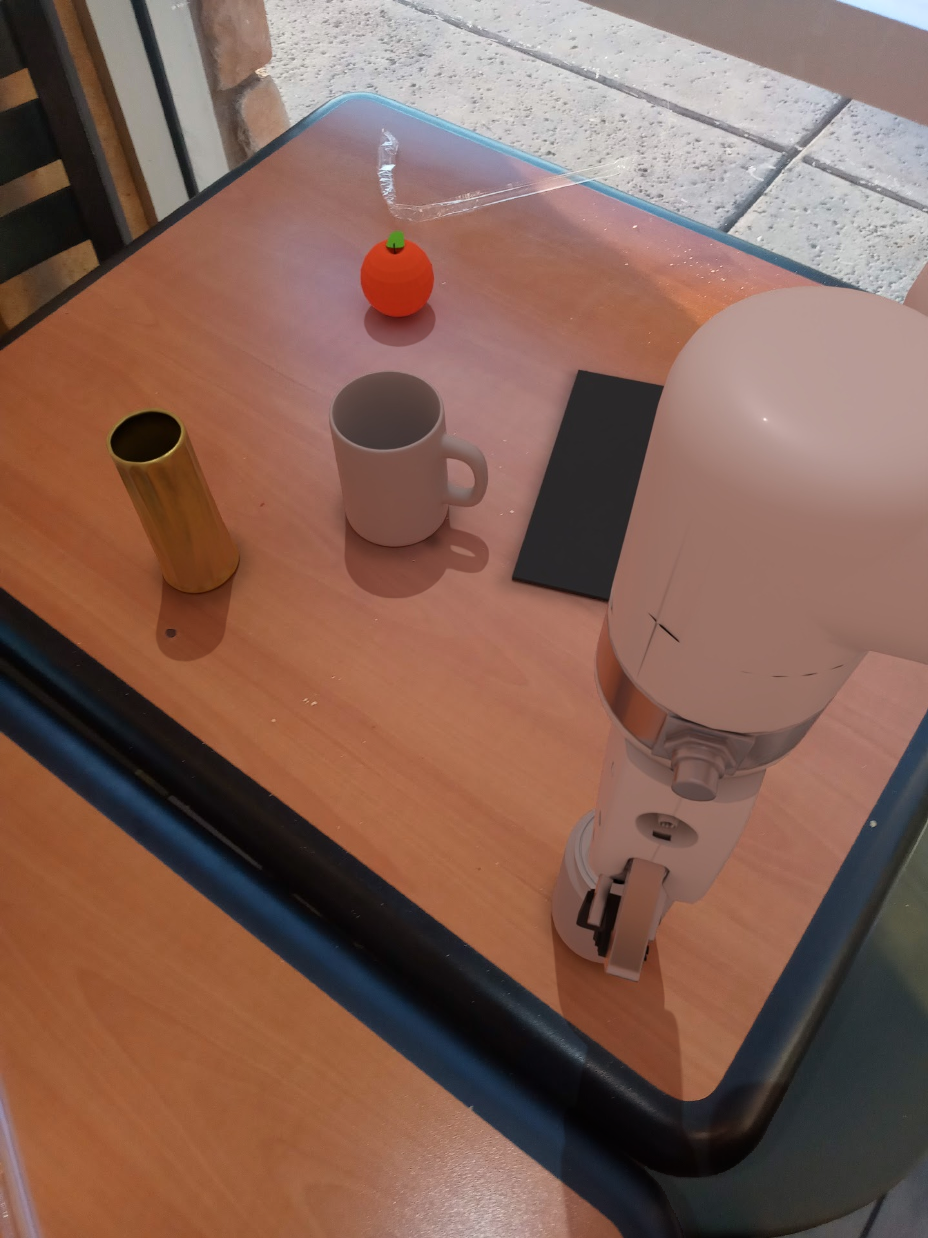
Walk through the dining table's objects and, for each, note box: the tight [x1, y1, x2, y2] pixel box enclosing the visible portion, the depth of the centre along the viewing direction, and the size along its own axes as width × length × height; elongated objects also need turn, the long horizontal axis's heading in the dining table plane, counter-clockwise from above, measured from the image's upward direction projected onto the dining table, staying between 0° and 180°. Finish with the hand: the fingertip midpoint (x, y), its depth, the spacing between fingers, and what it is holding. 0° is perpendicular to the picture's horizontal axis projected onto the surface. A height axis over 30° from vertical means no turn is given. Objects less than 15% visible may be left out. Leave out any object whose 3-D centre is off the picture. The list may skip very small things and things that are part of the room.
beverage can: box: [551, 807, 676, 964], centre depth 52 cm, size 6×6×12 cm
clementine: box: [359, 230, 435, 318], centre depth 85 cm, size 8×7×7 cm
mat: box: [511, 369, 664, 602], centre depth 76 cm, size 24×16×1 cm, turn 164°
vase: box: [105, 407, 240, 594], centre depth 66 cm, size 6×6×14 cm
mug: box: [328, 369, 489, 548], centre depth 70 cm, size 12×8×11 cm
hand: (630, 831), depth 44 cm, fingers open, 9 cm apart
